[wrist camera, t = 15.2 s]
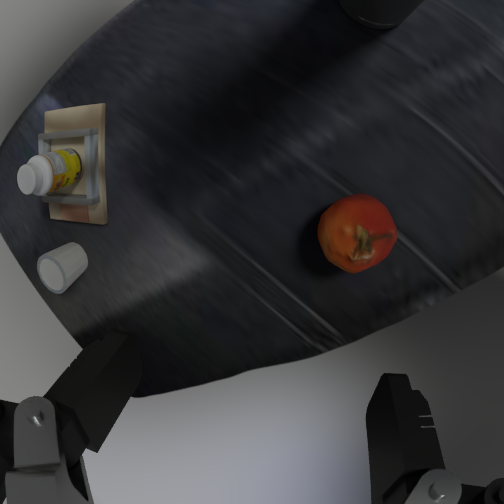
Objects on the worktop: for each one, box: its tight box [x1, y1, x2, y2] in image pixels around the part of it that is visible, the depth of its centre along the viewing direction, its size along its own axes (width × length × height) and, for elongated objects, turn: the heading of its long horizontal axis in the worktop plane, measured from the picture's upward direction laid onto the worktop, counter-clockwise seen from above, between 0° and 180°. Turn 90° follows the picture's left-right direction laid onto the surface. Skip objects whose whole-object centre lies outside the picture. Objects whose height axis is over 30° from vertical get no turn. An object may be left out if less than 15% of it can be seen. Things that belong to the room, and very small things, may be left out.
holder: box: [38, 104, 108, 225], centre depth 41 cm, size 18×12×3 cm, turn 176°
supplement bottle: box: [17, 148, 84, 196], centre depth 37 cm, size 6×6×10 cm
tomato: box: [318, 194, 397, 273], centre depth 36 cm, size 9×9×8 cm
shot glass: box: [37, 242, 88, 294], centre depth 46 cm, size 7×7×7 cm
